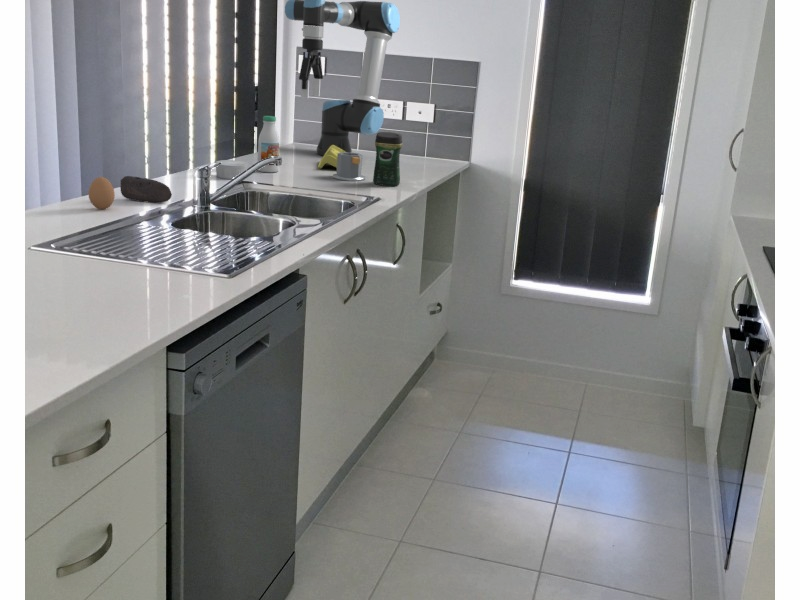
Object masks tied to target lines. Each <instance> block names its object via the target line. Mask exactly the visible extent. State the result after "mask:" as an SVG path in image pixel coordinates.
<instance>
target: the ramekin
mask: <svg viewBox="0 0 800 600" xmlns="http://www.w3.org/2000/svg"><path fill="white" fill-rule="evenodd" d="M218 162H222V163H221V164H220V165H219V166H218V167H216V166H215V168H216V176H217V177H218V178H220V179H222V178H223V180H231V179H232V178H233V177H235V176H236V175H238V174H239V173H241V172H242V171H244V170H245V169H246V170H247V169H248V162H245V161H243V160H234V159H222V160H217V161H215V162H214V164H215V163H218Z"/></svg>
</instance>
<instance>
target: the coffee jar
mask: <svg viewBox="0 0 800 600" xmlns="http://www.w3.org/2000/svg"><path fill="white" fill-rule="evenodd" d="M374 145H375V162H374V170H373V177H372V183H374V185H379V186H386V187H389V186H391V187H393V186H399V185H400V183H401V171H400V170H401V169H400V153H401V149H402V147H403V136H402V134H401V133H399V132H398V133H397V132H391V131H380V132H379V131H378V132H377V133H376V136H375V141H374Z"/></svg>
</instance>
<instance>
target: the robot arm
mask: <svg viewBox="0 0 800 600" xmlns="http://www.w3.org/2000/svg"><path fill="white" fill-rule="evenodd" d="M284 13H285V16H286V18H287V19H288V20H292V21H298V22H299V21H300V22H303V23H302V24H303V26H302V28H301V31H302V36H303V37H304V38H302V42H301V43H302V44H301V45H302V47H301V48H302V49H303V50H306V51H303V53H302V62H301V66H300V71H299V77H298V80H300V81H301V87H300V99H308V100H309V94H310V90H309V89H310V80H309V77H310V74H311V71H312V74H313V78H312V94H311V95H312V97H320V96H321V92H320V91H321V80H323V78H324V77H323V76H324V75H323V67H322V58H321V57H322V53H321V51H323V50H324V49H323V46H324V45H323V44H324V41H323V38H324V24H325V23H329V24H337V25H340V27H347V28H352V29H355V30H359V31H360V30H361V31H364V32H363V33H364V35H365V37H366V41H365V42H366V43H365V49H364V55H363V60H362V65H361V72H360V78H359V83H358V88H357V89H358V90H357V95H356V96H355V97H353V98H352V102H351V100H350V99H340V100H337V99H336V100H326V101H324V102H323V103H322V110H321V136H320V137H319V141H318V143H317V146H316V154H317V155H319V156H322V157H323V156H324V155H325V153H326V152H327V150H328V149H329V147H330V146H331V145H335V146H337V147H338V148H340V149H342V150H343V151H345V152H351V153H353V152H352V146H351V143H350V139H349V135H350V134H349V133H354V134H355V133H357V134H361V135H374V134H377V133H379V130H380V129H381V127H382V125H383V123H384V120H385V119H384V118H385V115H384V110H383V109H382V108H381V102H380V101H379V99H378V98H379V94H380V93H379V92H380V86H381V81H382V76H383V75H382V74H383V69H384V63H385V58H386V52H387V46H388V42H389V41H390V40H392V39H393V34H395V33H397V32H398V31H399V29H400V25H401V15H400V11H399V9H398V7H397V6H396V4H394V3H392V2H386V1H369V0H367V1H366V0H360V1H359V0H358V1H357V0H356V1H342V2H339V3H337V2H335V1H328V0H327V1H326V0H287V1H286V3H285V6H284Z"/></svg>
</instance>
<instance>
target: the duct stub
mask: <svg viewBox="0 0 800 600" xmlns="http://www.w3.org/2000/svg"><path fill="white" fill-rule="evenodd" d="M336 174H337V173H333V174H332V178H333V179H334V178H335V180H338V181H343V180H344V182H345V181H346V182H363V181H365V180H366V176H365V175H363V174H361V177H359V178H345V177H339V176H337V175H336Z"/></svg>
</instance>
